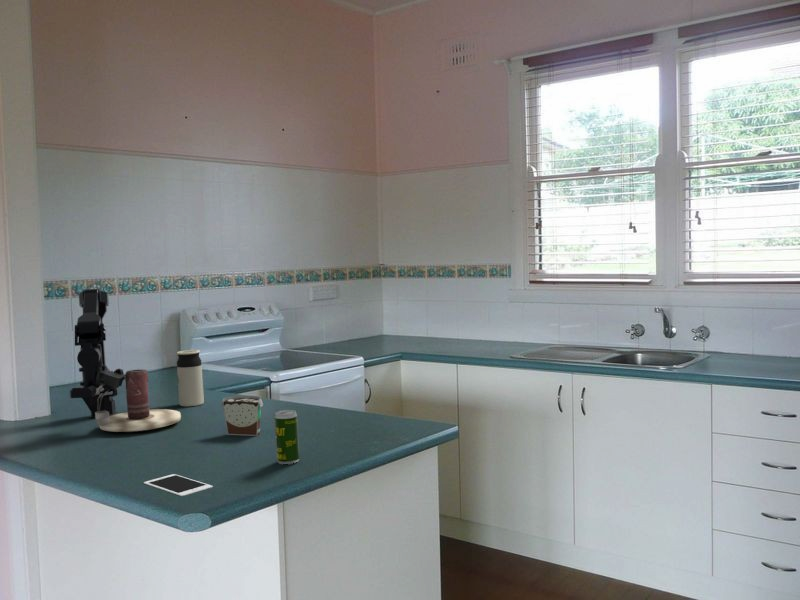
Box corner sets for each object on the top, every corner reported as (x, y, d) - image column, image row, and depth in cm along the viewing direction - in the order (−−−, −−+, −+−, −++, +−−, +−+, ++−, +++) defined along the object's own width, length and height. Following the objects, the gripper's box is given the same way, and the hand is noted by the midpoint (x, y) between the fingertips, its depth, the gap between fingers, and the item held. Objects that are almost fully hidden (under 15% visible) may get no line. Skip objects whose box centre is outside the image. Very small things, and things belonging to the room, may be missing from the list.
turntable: (111, 436, 219) (109, 418, 219) (85, 423, 238) (84, 407, 237) (193, 421, 234) (192, 404, 234) (163, 410, 252) (162, 395, 252)
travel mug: (207, 401, 270) (204, 349, 269) (199, 406, 263) (195, 352, 261) (184, 402, 271) (181, 350, 270) (175, 407, 263) (172, 353, 262)
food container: (272, 430, 223) (270, 395, 222) (262, 436, 217) (260, 399, 216) (234, 429, 227) (232, 394, 226) (222, 434, 221) (220, 399, 220)
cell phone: (182, 498, 166) (181, 495, 166) (142, 484, 177) (142, 482, 177) (213, 488, 172) (213, 485, 172) (174, 476, 183) (173, 473, 183)
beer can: (289, 457, 193) (286, 408, 192) (304, 460, 190) (301, 411, 189) (272, 462, 189) (269, 413, 188) (287, 466, 186) (284, 415, 185)
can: (152, 417, 235) (149, 370, 234) (129, 420, 232) (126, 372, 231) (148, 414, 240) (145, 368, 239) (126, 417, 237) (123, 370, 236)
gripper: (106, 367, 220) (110, 422, 222) (131, 357, 239) (135, 408, 240) (67, 368, 221) (71, 424, 222) (94, 358, 239) (98, 409, 241)
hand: (96, 416), depth 231 cm, fingers closed
